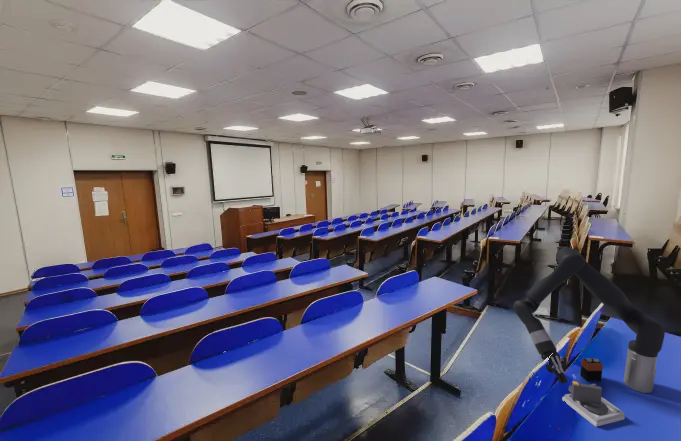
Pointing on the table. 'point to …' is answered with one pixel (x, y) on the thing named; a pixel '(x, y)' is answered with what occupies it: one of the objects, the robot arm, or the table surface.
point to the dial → (589, 397)
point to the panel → (596, 419)
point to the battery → (591, 369)
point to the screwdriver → (579, 383)
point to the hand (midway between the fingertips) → (564, 383)
